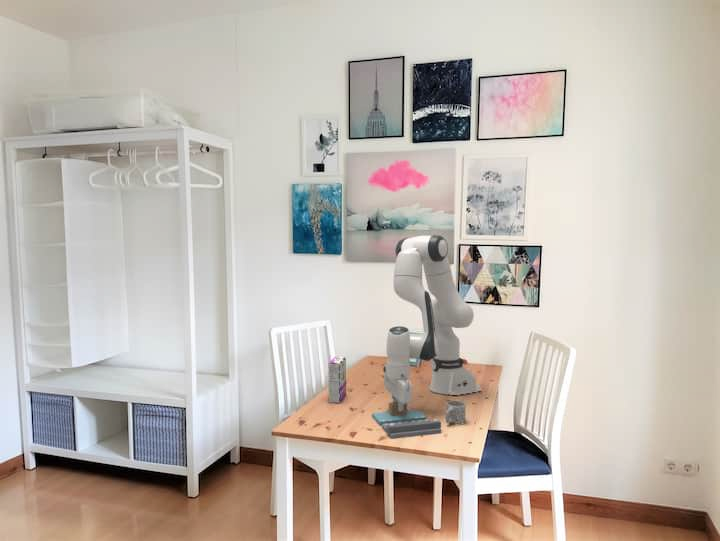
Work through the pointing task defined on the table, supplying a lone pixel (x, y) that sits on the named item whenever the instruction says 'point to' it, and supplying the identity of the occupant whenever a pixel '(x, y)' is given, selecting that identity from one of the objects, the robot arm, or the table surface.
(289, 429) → the table surface
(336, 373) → the candy bar box
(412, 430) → the grey toy road piece
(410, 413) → the teal flat block
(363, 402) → the table surface
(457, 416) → the mug
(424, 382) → the table surface
